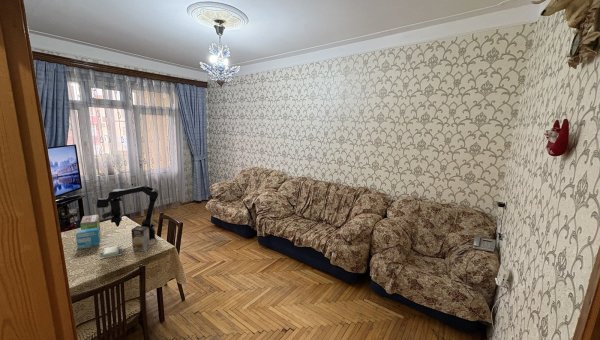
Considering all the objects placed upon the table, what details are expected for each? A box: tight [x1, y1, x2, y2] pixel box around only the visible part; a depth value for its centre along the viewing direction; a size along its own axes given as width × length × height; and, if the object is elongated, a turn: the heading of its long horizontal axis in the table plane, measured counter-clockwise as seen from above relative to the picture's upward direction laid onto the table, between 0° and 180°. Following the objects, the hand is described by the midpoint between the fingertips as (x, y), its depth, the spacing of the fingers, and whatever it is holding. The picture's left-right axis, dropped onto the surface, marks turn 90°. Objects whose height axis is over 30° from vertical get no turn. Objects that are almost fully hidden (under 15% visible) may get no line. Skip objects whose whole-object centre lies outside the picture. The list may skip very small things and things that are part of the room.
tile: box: [103, 245, 120, 257], centre depth 174 cm, size 8×2×9 cm
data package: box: [75, 228, 100, 249], centre depth 180 cm, size 12×4×12 cm, turn 126°
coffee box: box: [131, 225, 151, 252], centre depth 180 cm, size 9×6×16 cm
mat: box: [99, 247, 123, 261], centre depth 173 cm, size 12×10×1 cm
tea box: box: [79, 214, 101, 235], centre depth 193 cm, size 15×10×15 cm
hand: (117, 226), depth 186 cm, fingers closed
